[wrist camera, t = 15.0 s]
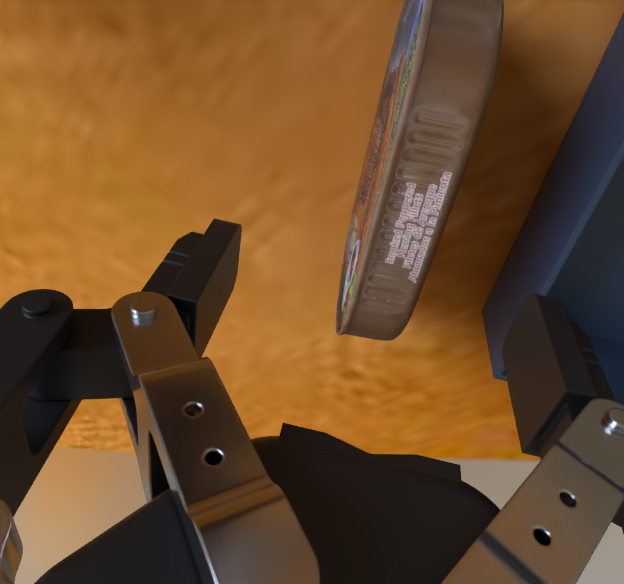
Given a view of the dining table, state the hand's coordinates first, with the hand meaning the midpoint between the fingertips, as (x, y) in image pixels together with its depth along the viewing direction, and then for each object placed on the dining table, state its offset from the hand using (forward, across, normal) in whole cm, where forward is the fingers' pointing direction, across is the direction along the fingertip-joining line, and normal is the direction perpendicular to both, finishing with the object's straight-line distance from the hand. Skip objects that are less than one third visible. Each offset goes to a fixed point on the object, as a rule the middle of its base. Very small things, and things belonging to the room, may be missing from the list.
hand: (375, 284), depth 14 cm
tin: (+12, -1, 0) cm, 13 cm away
